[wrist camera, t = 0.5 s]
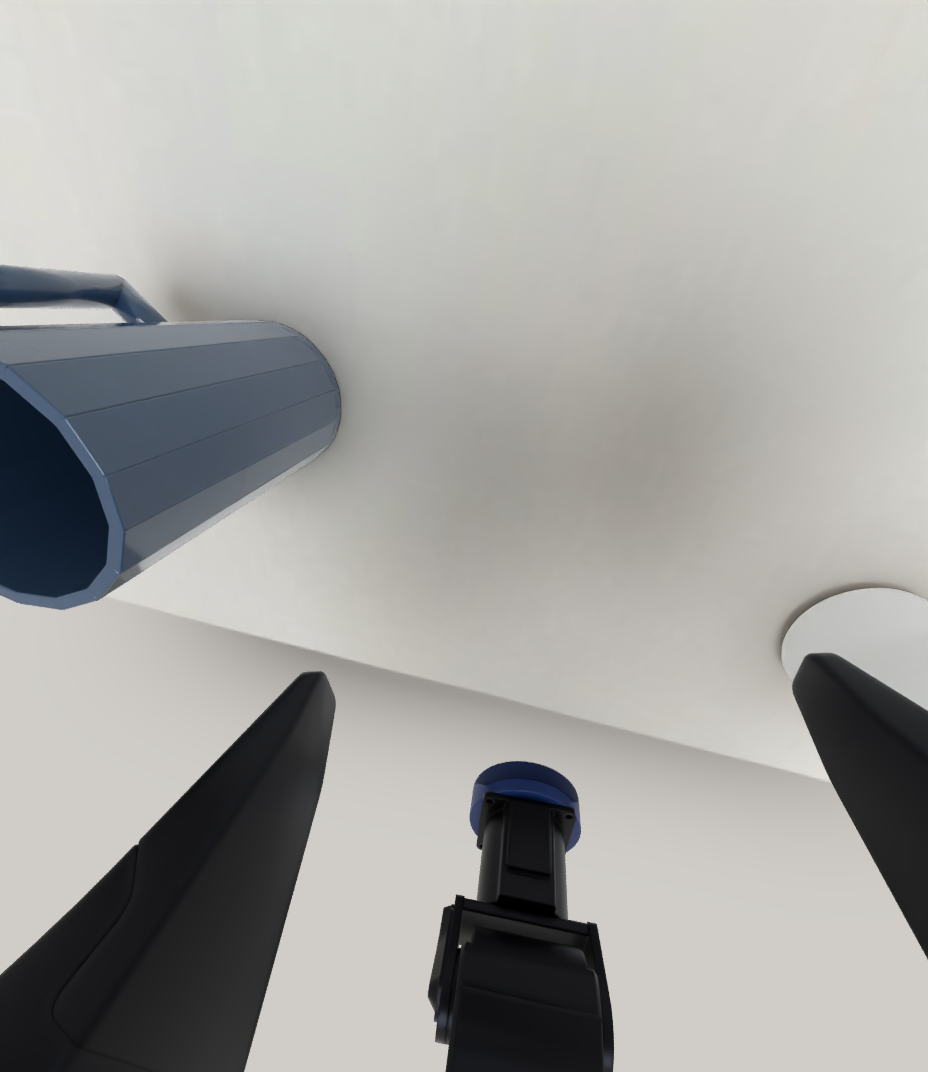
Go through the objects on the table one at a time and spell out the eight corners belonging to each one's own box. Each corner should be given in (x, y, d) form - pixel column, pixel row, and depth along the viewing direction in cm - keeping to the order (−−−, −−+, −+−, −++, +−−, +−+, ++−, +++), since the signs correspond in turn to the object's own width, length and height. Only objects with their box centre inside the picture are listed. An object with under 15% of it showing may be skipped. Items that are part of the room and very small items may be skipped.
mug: (369, 404, 21) (172, 510, 10) (287, 488, 24) (58, 648, 13) (201, 221, 19) (-312, 85, 8) (132, 337, 22) (-324, 366, 10)
